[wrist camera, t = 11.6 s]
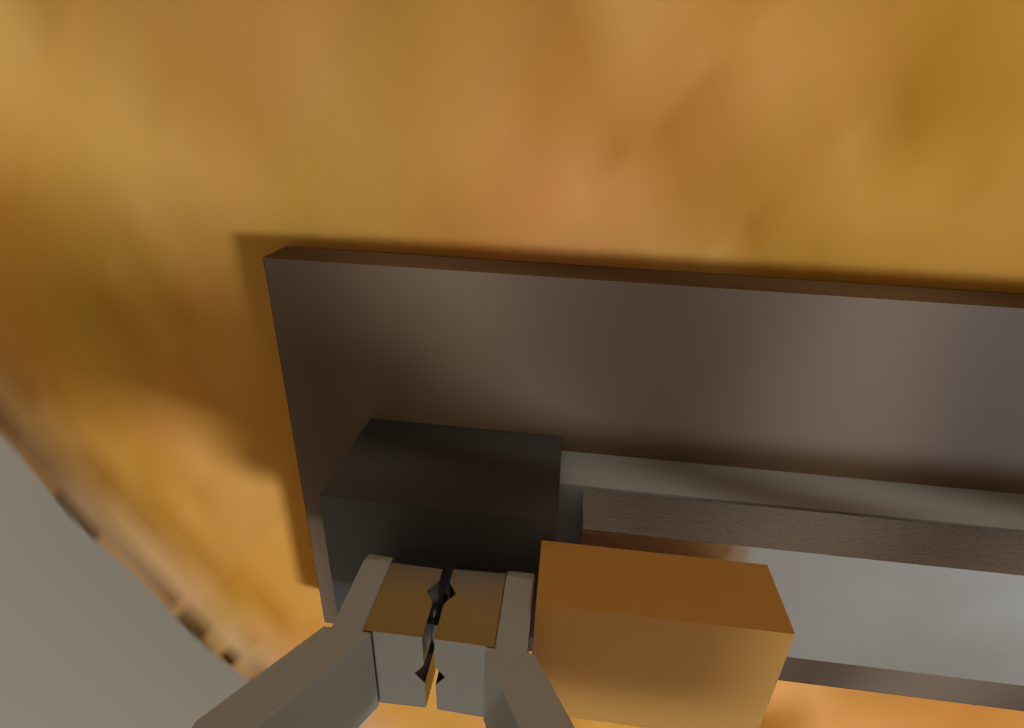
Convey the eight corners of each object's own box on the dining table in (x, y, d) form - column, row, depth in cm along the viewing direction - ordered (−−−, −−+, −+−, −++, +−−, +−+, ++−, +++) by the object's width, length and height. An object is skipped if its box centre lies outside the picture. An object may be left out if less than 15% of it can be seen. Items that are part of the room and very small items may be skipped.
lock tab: (533, 642, 11) (527, 711, 10) (541, 540, 10) (535, 603, 9) (733, 668, 11) (753, 742, 10) (767, 564, 10) (794, 634, 8)
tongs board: (338, 594, 17) (277, 718, 14) (286, 246, 12) (172, 302, 9) (1387, 723, 14) (1635, 914, 11) (1847, 347, 10) (2538, 481, 6)
